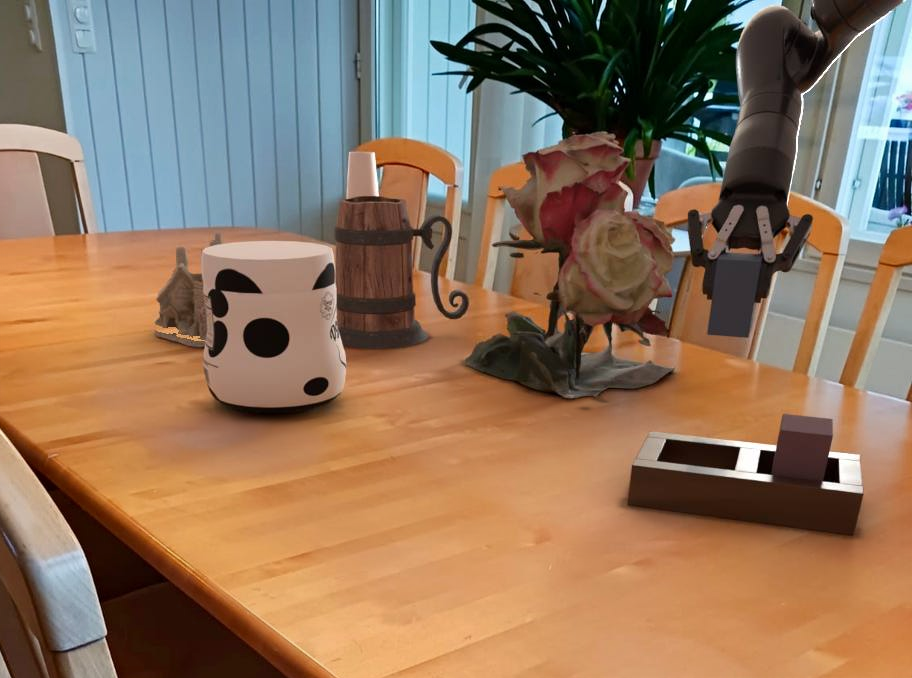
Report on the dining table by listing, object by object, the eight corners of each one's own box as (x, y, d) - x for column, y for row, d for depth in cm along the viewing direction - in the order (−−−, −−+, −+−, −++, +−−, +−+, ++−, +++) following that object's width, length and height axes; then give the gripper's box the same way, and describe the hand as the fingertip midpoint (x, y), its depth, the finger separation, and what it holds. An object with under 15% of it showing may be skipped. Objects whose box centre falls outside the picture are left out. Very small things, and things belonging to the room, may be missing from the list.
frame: (853, 535, 87) (863, 493, 85) (627, 504, 93) (631, 465, 91) (850, 493, 97) (860, 454, 95) (644, 467, 102) (649, 430, 100)
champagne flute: (342, 290, 189) (337, 152, 177) (355, 284, 194) (351, 150, 182) (374, 293, 187) (372, 153, 175) (386, 287, 192) (385, 152, 181)
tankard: (327, 349, 146) (321, 205, 136) (317, 326, 161) (311, 193, 151) (478, 345, 150) (484, 204, 140) (455, 322, 165) (459, 193, 155)
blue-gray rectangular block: (711, 325, 113) (722, 252, 109) (751, 328, 112) (763, 254, 108) (706, 334, 109) (717, 258, 105) (748, 337, 107) (760, 261, 104)
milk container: (374, 398, 124) (372, 247, 115) (285, 432, 111) (274, 266, 102) (272, 377, 132) (262, 235, 123) (177, 407, 119) (159, 251, 110)
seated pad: (767, 492, 96) (782, 413, 92) (815, 498, 95) (832, 418, 91) (764, 512, 92) (780, 429, 88) (814, 518, 91) (833, 435, 87)
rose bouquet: (587, 410, 120) (612, 138, 105) (446, 361, 141) (450, 128, 126) (722, 380, 134) (761, 135, 119) (575, 340, 154) (593, 126, 139)
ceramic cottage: (164, 322, 160) (154, 225, 152) (263, 328, 160) (259, 232, 152) (136, 351, 147) (124, 246, 139) (244, 357, 147) (238, 253, 139)
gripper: (695, 142, 109) (667, 271, 105) (830, 144, 105) (806, 279, 101) (694, 189, 116) (668, 313, 112) (821, 194, 112) (798, 322, 108)
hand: (734, 296), depth 107 cm, fingers closed on blue-gray rectangular block, 4 cm apart
